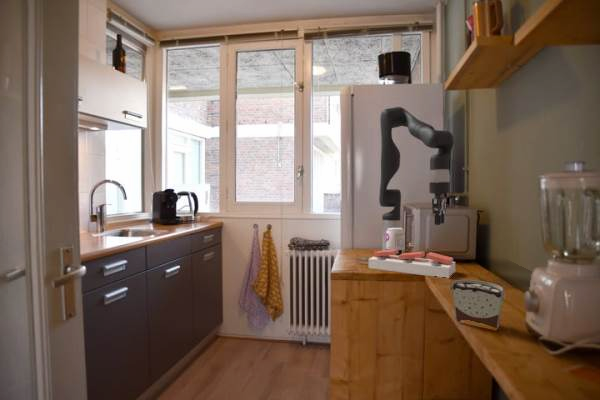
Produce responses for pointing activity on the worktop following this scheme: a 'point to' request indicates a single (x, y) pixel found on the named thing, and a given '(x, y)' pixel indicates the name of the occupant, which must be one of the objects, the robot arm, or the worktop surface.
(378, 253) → the rocker
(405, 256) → the rocker middle
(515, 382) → the worktop surface
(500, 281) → the worktop surface
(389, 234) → the supplement can
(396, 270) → the power strip
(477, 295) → the food container
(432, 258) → the rocker
